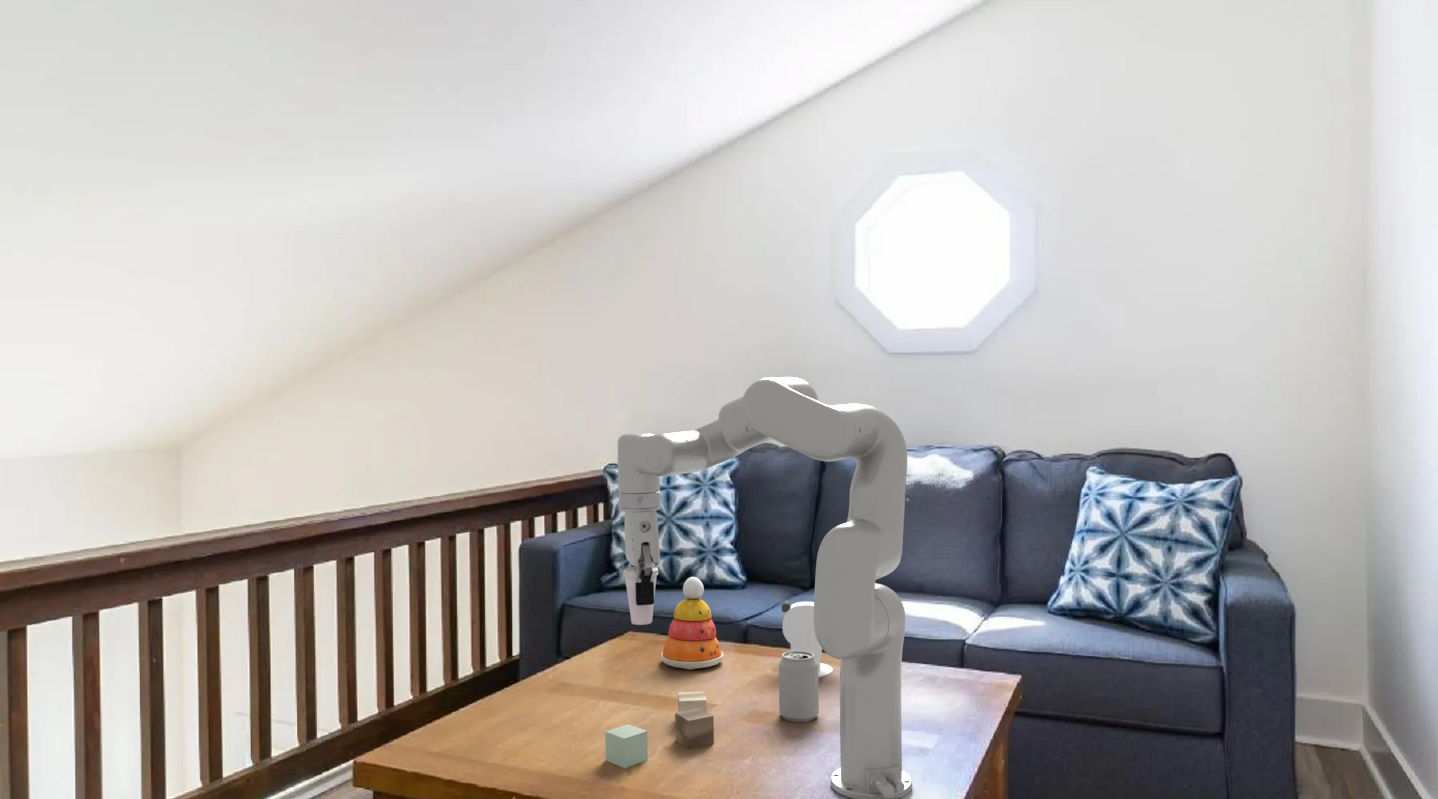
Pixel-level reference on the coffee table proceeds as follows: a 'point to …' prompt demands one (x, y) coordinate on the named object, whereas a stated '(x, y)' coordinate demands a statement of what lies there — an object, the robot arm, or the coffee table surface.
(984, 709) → the coffee table surface
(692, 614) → the stacking toy
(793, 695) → the can
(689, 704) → the maple cube
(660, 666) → the coffee table surface
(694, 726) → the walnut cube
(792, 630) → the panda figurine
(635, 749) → the sage painted cube
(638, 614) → the smoothie
